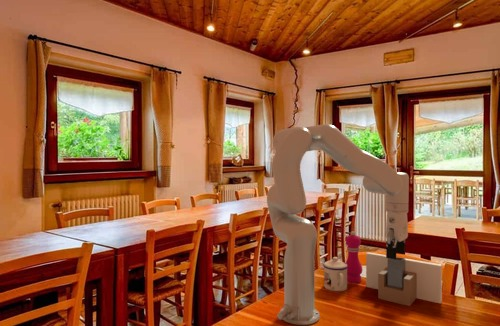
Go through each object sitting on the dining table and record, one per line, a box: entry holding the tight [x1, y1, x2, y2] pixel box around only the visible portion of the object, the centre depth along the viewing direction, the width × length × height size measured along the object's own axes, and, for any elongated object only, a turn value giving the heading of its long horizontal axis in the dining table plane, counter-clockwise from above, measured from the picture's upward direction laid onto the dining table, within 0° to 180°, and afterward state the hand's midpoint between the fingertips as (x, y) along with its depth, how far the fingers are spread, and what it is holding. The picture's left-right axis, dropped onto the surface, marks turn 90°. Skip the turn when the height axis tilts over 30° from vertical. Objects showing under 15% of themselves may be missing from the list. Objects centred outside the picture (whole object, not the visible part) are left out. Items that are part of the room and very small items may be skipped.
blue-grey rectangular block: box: [388, 256, 406, 289], centre depth 129 cm, size 4×5×10 cm
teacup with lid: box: [323, 256, 348, 292], centre depth 139 cm, size 12×9×12 cm
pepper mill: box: [345, 231, 363, 284], centre depth 149 cm, size 7×7×20 cm
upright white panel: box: [365, 252, 443, 307], centre depth 130 cm, size 11×26×13 cm, turn 51°
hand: (395, 255), depth 129 cm, fingers open, 9 cm apart
